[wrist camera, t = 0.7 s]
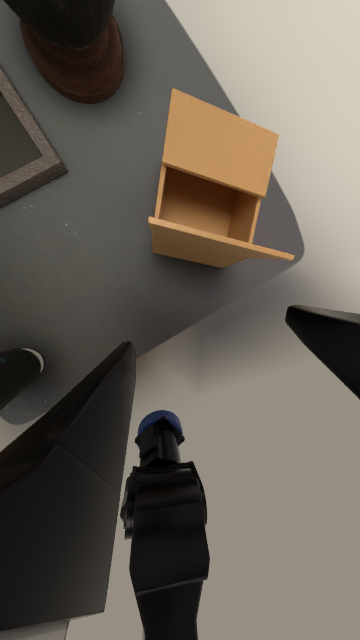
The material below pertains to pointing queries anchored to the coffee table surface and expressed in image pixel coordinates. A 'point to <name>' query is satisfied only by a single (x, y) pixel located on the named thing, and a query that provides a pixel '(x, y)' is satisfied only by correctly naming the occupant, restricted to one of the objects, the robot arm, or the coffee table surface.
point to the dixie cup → (17, 372)
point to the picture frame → (22, 148)
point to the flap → (213, 240)
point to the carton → (211, 177)
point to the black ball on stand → (73, 45)
